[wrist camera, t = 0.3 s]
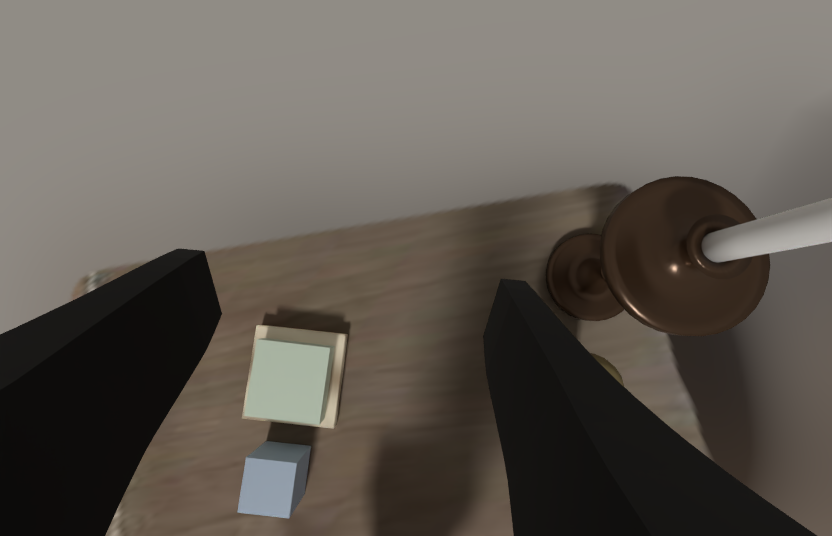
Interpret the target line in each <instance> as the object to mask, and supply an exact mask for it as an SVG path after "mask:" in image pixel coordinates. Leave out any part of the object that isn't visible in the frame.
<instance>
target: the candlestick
mask: <svg viewBox="0 0 832 536" xmlns="http://www.w3.org/2000/svg"><path fill="white" fill-rule="evenodd" d="M828 242H832V198H829V199H826V200H823V201H819V202H815V203H812V204H809V205H805V206H801V207H798V208H795V209H791V210H788V211H784V212H781V213H777V214H774V215H771V216H767V217H764V218H760V219H756V218H755V216H754V215H753V214H752V213H751V211H750V210H749V208H748V207H747V206H746V205H745V204H744V203H743V202H742V201H741V200H740V199H738V198H737V197H736V196H735V195H734V194H732V193H731V192H729V191H727V190H726V189H724V188H723V187H721V186H719V185H716V184H714V183H712V182H709V181H707V180H703V179H698V178H693V177H678V176H677V177H676V176H675V177H669V178H663V179H659V180H656V181H653V182H650V183H648V184H646V185H644V186H643V187H641V188H639V189H637V190H636V191H634V192H632V193H631V194H629V195H627V196H626V197H625V198H624V199H623V200H622V201H621V202H620V203H619V204H617V205H616V206H615V208H614V209H613V211H612V212H611V214H610V215H609V217H608V218H607V221H606V223H605V226H604V228H603V231H602V235H598V234H582V235H578V236H575V237H572V238H570V239H568V240H567V241H565V242H563V243H562V244H561V245H559V246H558V247H557V248H556V249H555V251H554V252H553V254H552V255H551V257H550V259H549V261H548V264H547V269H546V282H547V287H548V290H549V292H550V295H551V297H552V298H553V300H554V301H555V303H556V304H557V305H558V306H559V307H560V308H561V309H562V310H563V311H565V312H566V313H567V314H569V315H571V316H573V317H575V318H578V319H582V320H589V321H600V320H606V319H609V318H612V317H614V316H616V315H618V314H619V313H621V312H622V311H623V310H624V309H625V310H626V311H627V312H628V313H629V314H630V315H631V316H632V317H634V318H635V319H637V320H638V321H639V322H641V323H642V324H644V325H646V326H648V327H650V328H653V329H655V330H657V331H660V332H664V333H668V334H673V335H685V336H706V335H711V334H718V333H720V332H723V331H725V330H728V329H730V328H732V327H734V326H736V325H737V324H739V323H740V322H742V321H743V320H744V319H746V318H747V317H748V316H749V315H750V313H751V312H752V311H753V310H754V309H755V308H756V307H757V305H758V303H759V302H760V300H761V298H762V296H763V295H764V292H765V289H766V286H767V283H768V279H769V270H770V259H769V253H774V252H779V251H784V250H790V249H795V248H801V247H806V246H811V245H816V244H822V243H828Z"/></svg>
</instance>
